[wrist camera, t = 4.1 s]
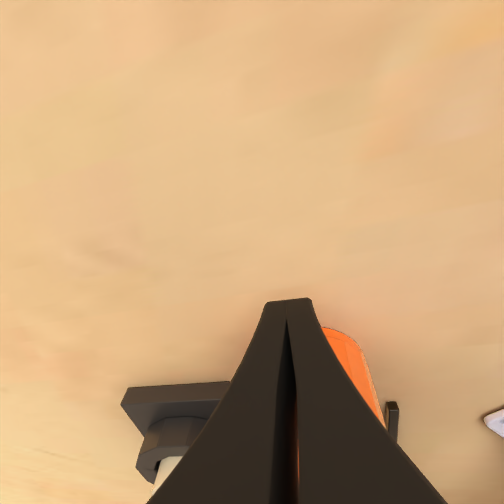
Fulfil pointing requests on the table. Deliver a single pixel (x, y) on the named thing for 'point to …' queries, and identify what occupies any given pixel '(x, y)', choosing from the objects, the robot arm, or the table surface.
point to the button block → (169, 419)
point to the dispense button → (165, 470)
